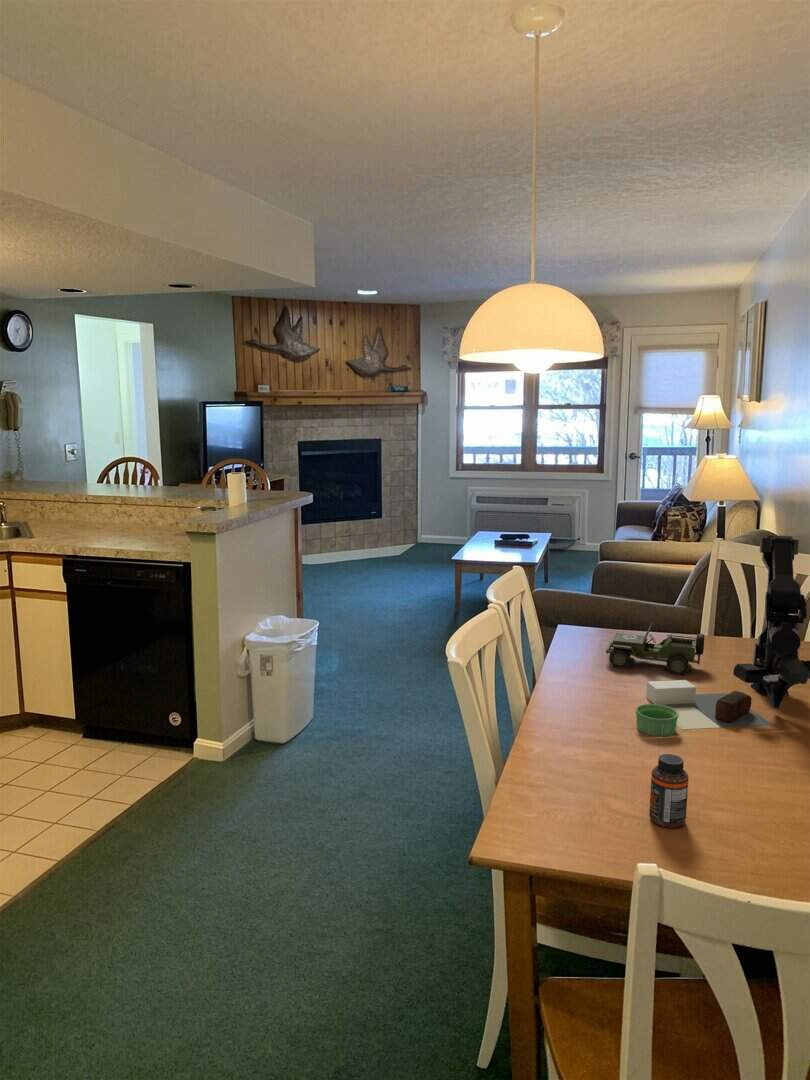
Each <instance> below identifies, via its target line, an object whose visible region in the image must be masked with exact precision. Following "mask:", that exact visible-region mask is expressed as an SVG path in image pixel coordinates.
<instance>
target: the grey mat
mask: <svg viewBox="0 0 810 1080" xmlns="http://www.w3.org/2000/svg"><path fill="white" fill-rule="evenodd" d="M728 694H729V693H727V692H721V693H720V692H719V693H699V694H697V693H696V696H695V703H687V704H665V705H664V706H668V707H671V708H673V709H675V710H676V711H677V712H678V713H679V716H678V719H677V724H676V727H678V728H679V729H680V730H699V729H700V730H701V729H703V730H704V729H721V728H723V729H724V728H739V727H740V728H741V727H759V726H760V727H763V726H765V727H766V726H774V724H773V723H771V722H770V721H768V720H767V719H766V718H764V717H763V716H761V715H759V714H758V713H757V712H755V711H754V710H752V709H751V708H750V711H749V712H748V713H747V714H745V715H744V716H742V717H740V718H739V719H737V720H735V721H733V722H732V723H728V722H724V721H721V720H717V719H715V714H716V713H715V711H716V703H717V700H718V699H720V698H722V697H724V696H726V695H728ZM646 699H647V700H648V701H650V700H649V699H648V698H646Z"/></svg>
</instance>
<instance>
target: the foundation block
mask: <svg viewBox="0 0 810 1080" xmlns="http://www.w3.org/2000/svg"><path fill="white" fill-rule="evenodd" d="M645 694H646V695H645V699H647V698H648V699H649V700H648V699H647V700H648V701H650V702H651V704H659V705H665V704H687V703H695V696H696V694H697V686H695V685H694V684H693V683H691V682H689V681H688V680H687V679H679V680H678V679H677V680H656V681H655V680H654V681H653V680H651V681H646V693H645Z"/></svg>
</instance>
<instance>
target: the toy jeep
mask: <svg viewBox="0 0 810 1080" xmlns="http://www.w3.org/2000/svg"><path fill="white" fill-rule="evenodd" d="M652 624H653V623H652V622H651V623H650V624H649V626H648V628H647V631H646V633H645V635H638V634H628V633H619V632H617V633H615V635H614V638H613V640H612V641H609V643H608V645H607V647H606V650H605V653H606V654H607V655H608V654H609V656H608V660H609V662H610V665H611V666H612V667H613V668H616V669H620V668H621V669H625V668H627V667H628V666H629V664H630V663H631V656H633V657H635V658H637V659H639V660H646V661H653V662H654V661H656V662H662V663H663V662H664V663H666V669H667V670H668V671H669V673H670V674H672V675H679V676H682V675H685V674H687V672H688V670H689V668H690V663H692V664H697V665H701V662H700V661H701V655H704V650H705V648H704V647H705V634H703V633H696V637H691V636H683V635H674V634H672V633H671V634H666V635H667V636H666V638H665V639H663V640H662V641H661V642H660V643H657V642H656V639H655V638H654V636H652V634H650V631H651V627H652ZM648 635H649V637H650V640H648V638H647V637H648ZM651 641H652V642H653V643H651ZM695 656H697V659H696V660H695V658H696V657H695Z"/></svg>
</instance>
